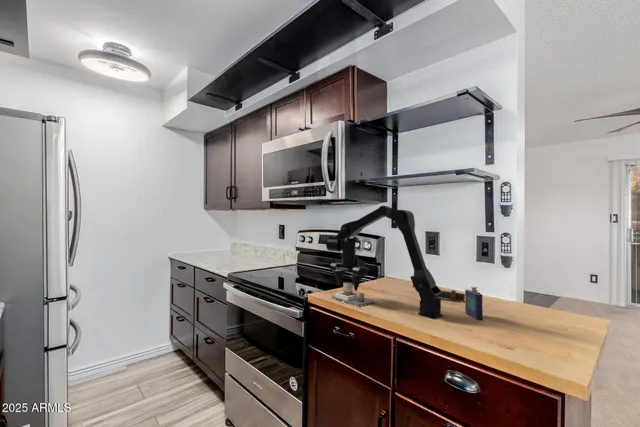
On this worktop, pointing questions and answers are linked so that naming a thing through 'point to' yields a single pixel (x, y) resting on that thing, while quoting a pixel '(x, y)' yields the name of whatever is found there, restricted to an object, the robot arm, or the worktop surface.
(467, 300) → the flask
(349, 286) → the beige rounded cylinder
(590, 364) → the worktop surface
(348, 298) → the board
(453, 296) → the bolt
